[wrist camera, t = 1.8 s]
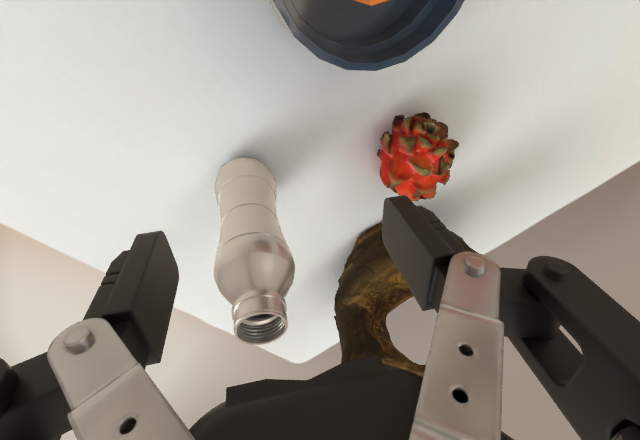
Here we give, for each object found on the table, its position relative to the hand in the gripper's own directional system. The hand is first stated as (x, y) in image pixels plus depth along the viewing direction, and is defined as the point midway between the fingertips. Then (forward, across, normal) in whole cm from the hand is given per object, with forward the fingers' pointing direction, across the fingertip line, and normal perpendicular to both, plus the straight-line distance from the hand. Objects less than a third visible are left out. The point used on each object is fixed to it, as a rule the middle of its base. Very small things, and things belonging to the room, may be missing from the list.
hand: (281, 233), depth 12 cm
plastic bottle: (+25, +3, +9) cm, 27 cm away
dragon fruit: (+25, -16, +8) cm, 31 cm away
